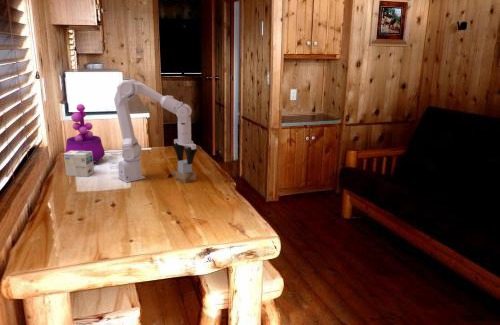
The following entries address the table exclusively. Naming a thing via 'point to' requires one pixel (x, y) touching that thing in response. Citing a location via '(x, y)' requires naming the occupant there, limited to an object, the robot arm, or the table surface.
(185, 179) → the walnut block
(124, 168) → the robot arm
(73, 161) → the light bulb box
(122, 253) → the table surface
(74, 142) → the decorative plant
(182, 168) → the gray block
